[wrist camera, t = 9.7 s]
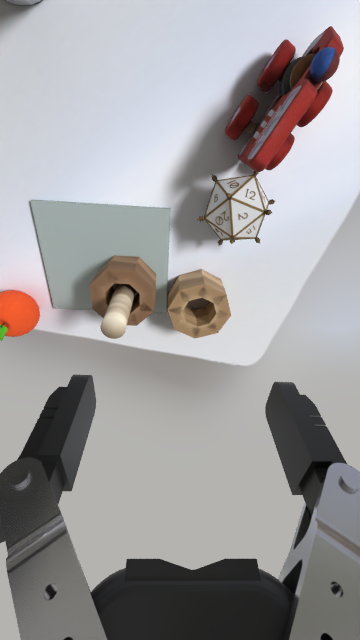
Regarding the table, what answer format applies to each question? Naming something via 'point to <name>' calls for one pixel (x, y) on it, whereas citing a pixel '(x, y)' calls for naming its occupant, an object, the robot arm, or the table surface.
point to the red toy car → (286, 100)
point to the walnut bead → (125, 273)
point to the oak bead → (203, 318)
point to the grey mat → (98, 246)
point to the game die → (237, 208)
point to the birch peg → (118, 311)
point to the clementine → (17, 313)
